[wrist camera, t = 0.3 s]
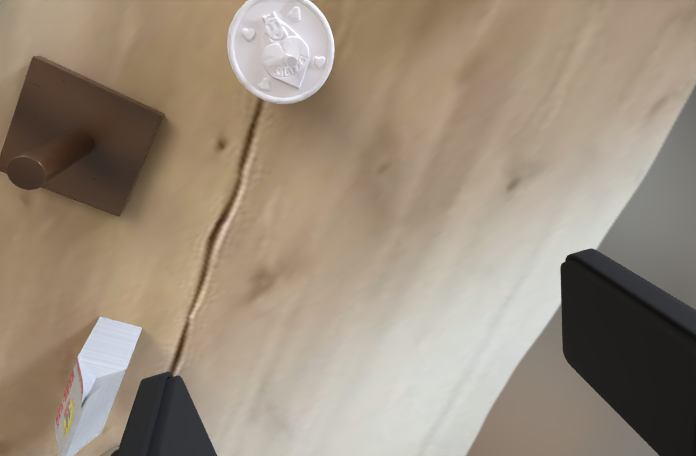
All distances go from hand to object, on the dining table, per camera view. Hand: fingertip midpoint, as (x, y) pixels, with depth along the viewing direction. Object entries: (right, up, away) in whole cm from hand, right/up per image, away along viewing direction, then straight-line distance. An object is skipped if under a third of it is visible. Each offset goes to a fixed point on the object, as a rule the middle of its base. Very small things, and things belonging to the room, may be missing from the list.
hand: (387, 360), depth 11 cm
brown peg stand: (-21, +10, +25) cm, 34 cm away
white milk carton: (-23, -8, +32) cm, 40 cm away
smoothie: (-7, +17, +25) cm, 31 cm away
